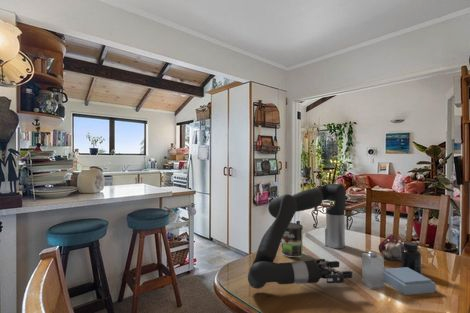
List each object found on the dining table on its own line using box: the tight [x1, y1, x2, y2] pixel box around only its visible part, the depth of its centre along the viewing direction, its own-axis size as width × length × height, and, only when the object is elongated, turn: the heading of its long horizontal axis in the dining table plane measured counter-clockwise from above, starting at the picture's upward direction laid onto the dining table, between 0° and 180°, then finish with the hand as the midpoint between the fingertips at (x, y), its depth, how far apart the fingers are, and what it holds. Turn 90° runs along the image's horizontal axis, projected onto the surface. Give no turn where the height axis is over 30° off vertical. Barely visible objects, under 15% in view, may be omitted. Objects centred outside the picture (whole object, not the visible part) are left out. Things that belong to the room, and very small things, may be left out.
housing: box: [360, 250, 386, 290], centre depth 94 cm, size 6×6×12 cm
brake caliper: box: [378, 233, 404, 263], centre depth 118 cm, size 11×11×12 cm
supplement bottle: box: [400, 241, 423, 275], centre depth 103 cm, size 7×7×12 cm
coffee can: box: [281, 222, 304, 258], centre depth 125 cm, size 10×10×14 cm
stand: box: [384, 267, 436, 296], centre depth 94 cm, size 12×12×4 cm
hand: (345, 269), depth 93 cm, fingers open, 8 cm apart
